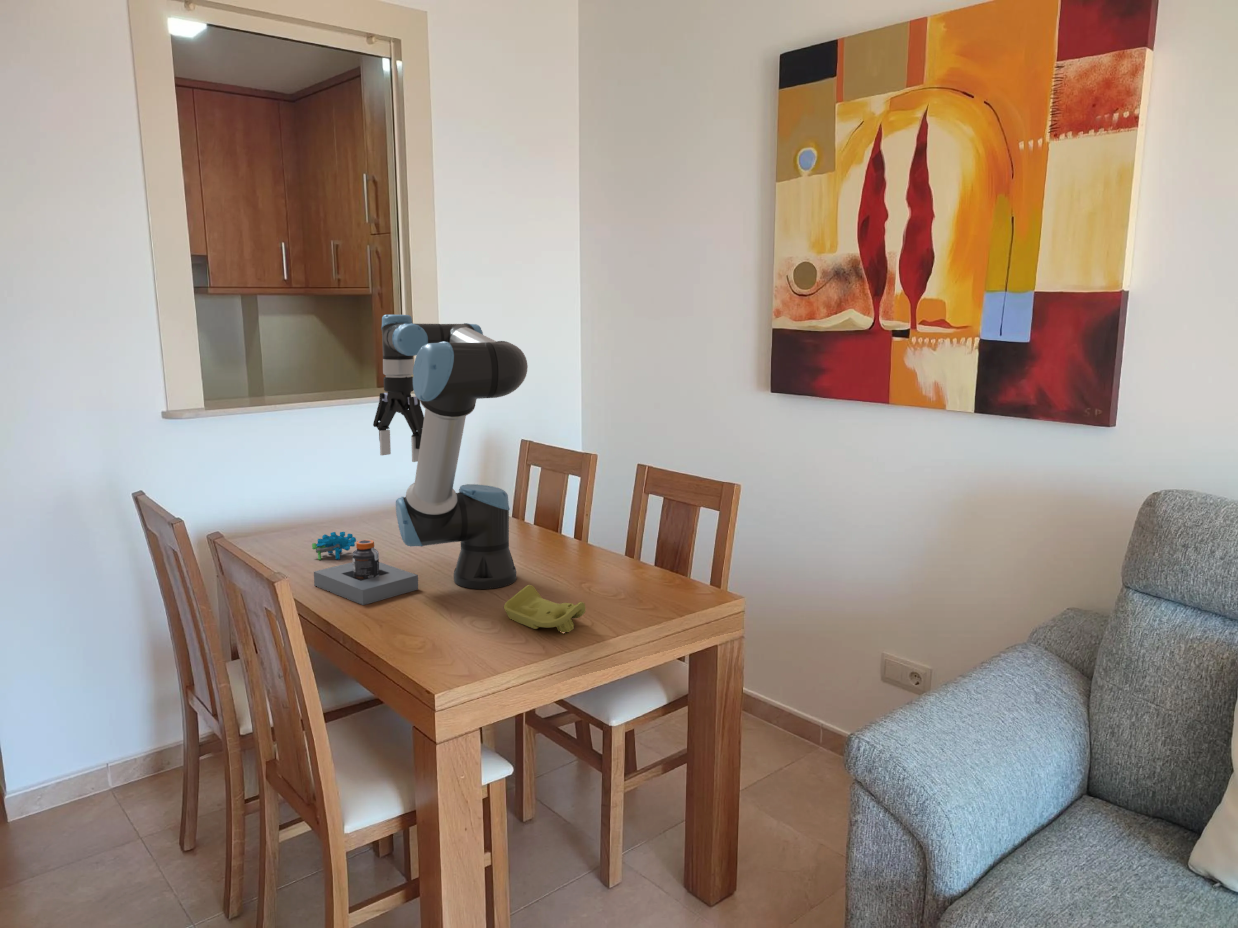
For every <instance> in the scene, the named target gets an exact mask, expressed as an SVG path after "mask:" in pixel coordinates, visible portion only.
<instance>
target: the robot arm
mask: <svg viewBox="0 0 1238 928" xmlns="http://www.w3.org/2000/svg"><path fill="white" fill-rule="evenodd" d="M380 330H381V336H382V339H381V341H382V374H383V375H385V376H384V377H383V390H384V392H380V393H379V397H378V399H379V402H378V404H377V408H376V412H375V416H374V420H373V423H372V426H373V427H374V428H377V430H378V440H379V454H380V456H387V455H388V456H389V455H391V454H392V453H391V451H392V450H391V430H390V425H391V423H392V421H393V419H394V417H395V415H396V413H399V414H400V415H402V416H403V417H404V419H405V420H406V423H407V425H408V427H409V429H410V431H411V432H412V435H411V437H410V438H411V441H410V442H411V462H412V463H416V462H417V465H416V471H415V477H414V482H413V483H412V484H410V485H409V486H408V488H407V490H406V492H405V496H400V497H398V498H396V500H395V514H396V519H397V524H398V525H397V526H398V530H399V535H400V537H401V540H402V541H403V543H404V545H406V546H407V547H424V546H433V545H441V544H450V543H459V542H460V550H459V551H460V552H459V555H458V558H457V562H456V565H455V568H454V571H453V582H454V583H455V584H456V585H458V586H460V587H462V588H467V589H475V590H487V589H488V590H491V589H498V588H503V587H506V585H507V586H510V585H512V584H514V582H516V580H517V569H516V565H515V563H514V559H513V556H512V553H511V550H510V516H509V515H510V503H509V495H508V493H507V492H506V490H505V489H502V488H499V487H496V486H491V485H488V484H475V483H469V484H468V483H467V484H466V483H465V484H463V485H460V486H459V489H458V492H456V491H455V490H456V489H454V483H455V478H456V472H457V467H458V461H459V456H460V451H461V445H462V439H463V434H464V428H465V423H466V417H467V416H468V415H470V414H471V413H472V412H473V411H474V410H475V408H476V403H477V400H479V399H482V400H483V399H496V398H502V397H505V396H508V395H510V394H511V393H514V392H515V391H516V390H517V389H518V388H519V387H520V386H521V385H522V384H523V383H524V381H525V379H526V377H527V373H528V366H529V365H528V360H527V357H526V356H525V354H524V352H523V351H522V349H521V348H520V347H518V346H517V345H516V344H513V343H511V342H508V341H505V340H497V341H496V340H494V339H492V338H490V337H489V336H487V335H485V334H484V332H483V330H482V327H481V326H480V325H479V324H476V323H468V322H467V323H465V322H464V323H414V322H413V318H412V316H411V315H409V314H384V315H382V317H381V327H380ZM414 356H415V359H414ZM412 375H413V376H412ZM412 392H414V395H415V396H412V395H411V393H412ZM422 407H423V408H424V409H425V410H424V413H423V410H422ZM509 584H510V585H509Z"/></svg>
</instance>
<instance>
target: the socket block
mask: <svg viewBox="0 0 1238 928" xmlns="http://www.w3.org/2000/svg"><path fill="white" fill-rule="evenodd" d="M313 579H314V580H313V581H314V584H313V585H314V587H316V586H317V587H316V588H319V589H322V590H324V591H326V590H327V591H326V592H329V591H330V593H331V594H334V595H337V596H339V597H342V598H344V599H346V598H347V600H349V601H352V602H353V603H357V604H359V605H362V606H366V605H369V604H372V603H376V602H379V601H383V600H386V599H389V598H392V597H393V598H394V597H396V596H400V595H403V594H406V593H410V592H413V591H417V590H419V575H418V574H415V573H413V572H411V571H407V570H404V569H401V568H398V567H395V566H392V565H389V564H386V563H385V562H384V563H383V562H381V561H379V576H377V577H373V578H370V579H366V580H362V581H360V580H357V579H354V578H353V561H352V562H347V563H343V564H340V565H334V566H332V567H327V568H323V569H319V570H314V571H313Z"/></svg>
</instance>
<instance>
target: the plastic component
mask: <svg viewBox="0 0 1238 928" xmlns="http://www.w3.org/2000/svg"><path fill="white" fill-rule="evenodd" d="M503 609H504V611H505V612H506V615H507V616H508V618H509V619H510V620H511V619H512V620H511V621H513V620H514V622H516V623H519V624H521V625H523V626H526V627H529V628H531V629H534V630H538V629H539V628H555V627H556V628H557V631H558V632H559V631H561V632H569V631H570V632H571V631H573V630H574V626H575V623H574V622H573V620H572V619H578V618H581V617H582V616H584V614H585V612H586V603H585V602H583V601H579V602H578V603H577V604H574V603H570V602H562V603H557V602H553V601H551V600H548V599H545V598H543V597H542V595H540V593H539V592H538V591H537V590H536V588H535V586H533V585H532V584H528V585H526V586H525V587H523V588H522V589H520V590H519V591H518V592H517V593H516V594H515V595H513V596H512V597H511V598H509V599H508V600H507V601H506V602H505V603H504V605H503ZM570 632H569V633H570Z"/></svg>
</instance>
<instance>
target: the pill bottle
mask: <svg viewBox="0 0 1238 928" xmlns="http://www.w3.org/2000/svg"><path fill="white" fill-rule="evenodd" d="M355 544H356V545H355V548H356V549H355V550H353V553H352V562H353V578H354V579H357V580H360V581H362V580H366V579H370V578H373V577H377V576H379V562H380V556H379V555H380V554H379V551H378V549H376V548H375V541H374V540H371V539H361V540H358V541H356V542H355Z"/></svg>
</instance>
